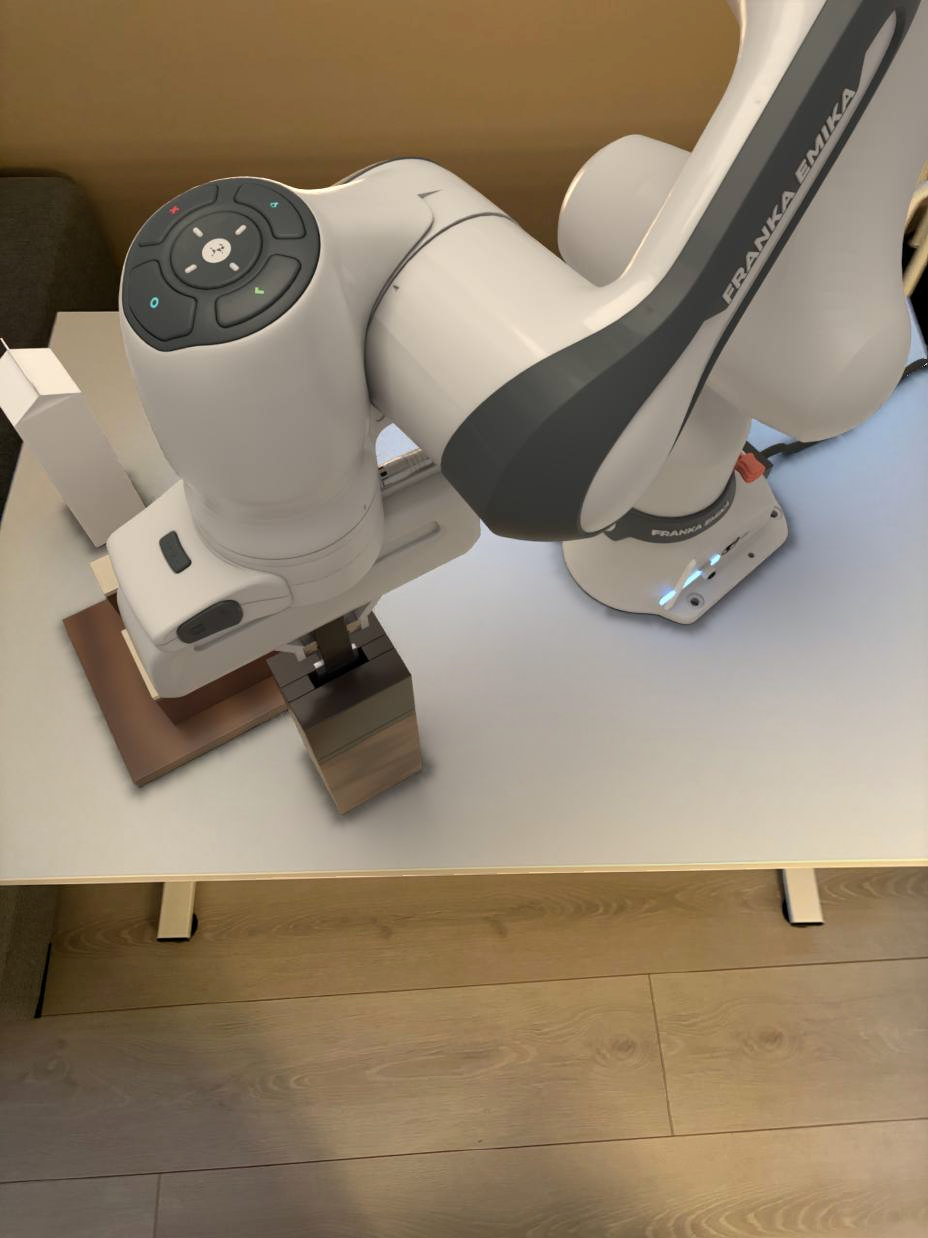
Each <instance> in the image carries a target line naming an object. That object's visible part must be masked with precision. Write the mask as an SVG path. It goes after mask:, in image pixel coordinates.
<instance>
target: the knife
mask: <svg viewBox="0 0 928 1238" xmlns="http://www.w3.org/2000/svg"><path fill="white" fill-rule="evenodd" d="M311 632H312V634H313V636H314V638H315V639H316V641H317V644H318V648H319V650H320V651H318V652H317V653H316V654H317V656H318V658H319V659H320V661H319V662H317V663H315V664H313V665H314V668H315V670H316V673H317V676H318V679H319V681H320V684H321V686H323V685H324V684H326V683H328V682H330V681H332V680H334V679H336V678H338V677H340V676H342V675H344V674H346V673H347V672H349V671H351V670H353V669H355V668H357V667H359V666H361V663H360V659H359V655H358V651H357V647H356V645H355V644H354V643H353V644H351V641H350V637H349V633H348V629H347V626H346V622H345V618H344V615H343V616H341V617H339V618H337V619H335V620H333V621H331V622H329V623H327V624H325V625H323V626H321V627H319V628H317V629H315V630H313V631H311Z"/></svg>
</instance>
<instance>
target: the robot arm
mask: <svg viewBox="0 0 928 1238" xmlns="http://www.w3.org/2000/svg"><path fill="white" fill-rule="evenodd" d="M725 2H726V3H727V5H728V6H729V8H730V10H731V12H732V14H733V16H734V18H735V19H736V21H737V23H738V26H739V44H738V45H739V47H738V51H737V56H736V61H735V66H734V68H733V71H732V75H731V78H730V80H729V83H728V85H727V86H726V89H725V91H724V94H723V96H722V98H721V99H720V101H719V103H718V105H717V107H716V108H715V110H714V112H713V113H712V115H711V117H710V119H709V121H708V123H707V125H706V127H705V128H704V130H703V132H702V133H701V135H700V136H699V139H698V140H697V143H696V144H695V145H694V148H693V150H692V151H688V150H685V149H683V148H681V147H678V146H675V145H673V144H670V143H667V142H663V141H661V140H658V139H654V138H652V137H649V136H646V135H643V134H637V133H635V134H628V135H625V136H623V137H621V138H618V139H616V140H614V141H612V142H609V144H607V145H604V147H602V148H600V149H599V150H598V151H597V152H595V153H594V154H593V155H592V156H591V157H589V159H588V160H587V161H586V162H585V163H584V164H583V165H582V166H581V167H580V169H579V170H578V172H577V173H576V174H575V176H574V177H573V178H572V181H571V182H570V184H569V186H568V189H567V190H566V193H565V195H564V197H563V200H562V203H561V207H560V211H559V214H558V222H557V246H558V252H559V253H560V256H561V258H562V259H563V260H562V259H561V258H560V257H558V256H557V255H556V254H555V253H553V252H552V251H551V250H550V249H548V248H547V247H546V246H544V245H543V244H542V243H540V242H539V241H538V240H537V239H535V237H533V236H531V235H530V234H529V233H528V232H527V231H525V230H524V229H523V228H522V227H521V225H520V223H518V222H517V221H516V220H514V219H513V218H512V217H511V216H510V215H509V214H507V213H506V212H505V211H504V210H502V209H501V208H500V207H498V206H497V205H496V204H495V203H494V202H492V201H491V200H489V199H488V197H486V196H485V195H484V194H482V193H481V192H479V191H478V190H477V189H476V188H474V187H472V186H471V185H470V184H469V183H467V182H466V181H465V180H463V179H462V178H461V177H459V176H457V175H456V174H455V173H453V172H452V171H450V170H448V169H447V168H446V167H444V166H443V165H441V164H440V163H439V162H436V161H434V160H432V159H430V158H426V157H425V158H424V157H420V156H400V157H399V156H398V157H395V158H390V159H386V160H383V161H380V162H379V161H378V162H376V163H372V164H370V165H368V166H366V167H363V168H361V169H359V170H357V171H355V172H353V173H352V174H350V175H348V176H346V177H344V178H342V179H340V180H339V181H337V182H335V183H334V184H332V185H331V186H329V187H324V188H317V189H299V188H295V187H293V186H290V185H288V184H284V183H282V182H279V181H277V180H272V179H269V178H264V177H256V176H234V177H233V176H232V177H226V178H220V179H215V180H211V181H208V182H205V183H202V184H200V185H197V186H194V187H192V188H190V189H188V190H186V191H184V192H182V193H180V194H179V195H177V196H174V197H173V198H172V199H170V200H169V201H168V202H166V203H164V204H163V205H162V206H161V207H159V208H158V209H157V210H156V211H155V212H154V213H153V214H152V215H151V216H150V217H149V218H148V219H147V220H146V221H145V222H144V224H143V225H142V226H141V228H140V229H139V230H138V231H137V233H136V235H135V236H134V238H133V240H132V242H131V244H130V246H129V248H128V250H127V253H126V256H125V259H124V262H123V266H122V270H121V275H120V283H119V292H118V318H119V319H118V320H119V326H120V332H121V336H122V337H121V338H122V341H123V347H124V352H125V355H126V359H127V363H128V366H129V369H130V373H131V376H132V379H133V382H134V385H135V387H136V391H137V394H138V396H139V397H138V398H139V399H140V402H141V404H142V407H143V410H144V413H145V415H146V417H147V420H148V422H149V425H150V427H151V431H152V432H153V434H154V437H155V439H156V441H157V443H158V446H159V448H160V450H161V452H162V454H163V456H164V458H165V460H166V462H167V463H168V464H169V466H170V467H171V469H172V470H173V472H174V473H175V474H176V475H177V476H178V477H179V479H178V480H177V481H176V482H175V483H174V484H173V485H171V487H169V488H168V489H167V490H166V491H165V492H164V493H163V494H162V495H160V496H159V497H158V498H157V499H156V500H154V501H153V502H151V504H149V505H148V506H146V507H145V509H144V510H143V511H141V512H140V513H139V514H137V515H136V516H135V517H133V518H132V519H131V520H129V521H128V522H126V523H125V524H124V525H122V526H121V527H120V528H118V529H117V530H116V531H114V532H113V533H112V534H111V535H110V537H109V538H108V540H107V542H106V543H105V546H106V551H107V555H108V554H109V558H110V561H111V564H112V567H113V570H114V573H115V576H116V578H117V581H118V583H119V586H118V590H117V603H118V607H119V611H120V614H121V617H122V620H123V623H124V625H125V628H126V630H127V632H128V635H129V637H130V639H131V641H132V644H133V646H134V648H135V650H136V653H137V655H138V657H139V659H140V661H141V663H142V665H143V667H144V669H145V671H146V673H147V675H148V677H149V679H150V681H151V683H152V685H153V687H154V689H155V691H156V692H157V694H158V695H159V696H160V697H163V698H175V697H182V696H184V695H187V694H189V693H191V692H192V691H194V690H196V689H198V688H200V687H202V686H204V685H206V684H208V683H210V682H212V681H214V680H216V679H218V678H220V677H222V676H224V675H226V674H228V673H230V672H232V671H234V670H236V669H238V668H240V667H242V666H244V665H246V664H247V663H249V662H251V661H253V660H255V659H257V658H259V657H261V656H263V655H265V654H267V653H269V652H271V651H273V650H275V651H282V652H290V653H294V655H295V656H296V658H297V660H298V661H299V662H300V661H301V660H303V659H305V658H307V657H309V656H311V655H313V654H315V653H317V652H318V651H320V650H319V648H318V644H317V641H316V639H315V638H314V636H313V634H312V632H311V631H313V630H315V629H317V628H319V627H321V626H323V625H325V624H327V623H329V622H331V621H333V620H335V619H337V618H339V617H341V616H343V615H344V618H345V622H346V626H347V629H348V633H349V635H351V634H353V633H355V632H358V631H360V630H362V629H364V628H366V627H368V626H369V623H368V618H367V615H369V614H370V612H371V611H373V609H375V607H376V606H377V604H378V603H379V601H380V600H381V598H382V597H383V596H384V595H386V594H388V593H390V592H392V591H394V590H396V589H398V588H400V587H402V586H404V585H406V584H407V583H410V582H411V581H414V580H415V579H418V578H420V577H421V576H424V575H425V574H428V573H430V572H431V571H434V570H436V569H437V568H439V567H442V566H443V565H446V564H448V563H449V562H452V561H453V560H455V559H458V558H460V557H461V556H464V555H465V554H467V553H468V552H470V551H471V549H472V548H473V547H474V546H475V545H476V544H477V542H478V541H479V539H480V537H481V534H482V527H481V522H482V523H483V524H484V525H485V526H486V527H487V529H488V530H489V531H490V532H491V533H492V534H493V535H495V536H498V537H502V538H507V539H511V540H517V541H525V542H536V543H537V542H538V543H558V542H559V543H560V542H562V544H561V545H562V554H563V558H564V562H565V564H566V567H567V570H568V572H569V573H570V575H571V576H572V578H573V580H574V581H575V582H576V583H577V585H578V586H579V587H580V588H581V589H582V590H583V591H584V592H586V593H587V594H588V595H589V596H591V597H592V598H593V599H595V600H596V601H598V602H599V603H601V604H604V605H606V606H608V607H610V608H613V609H616V610H619V611H623V612H628V613H637V614H653V615H658V616H660V617H662V618H665V619H667V620H670V621H671V622H672V621H673V622H675V623H678V624H681V625H691V624H693V623H694V622H696V621H697V620H698V619H699V618H701V617H702V616H703V615H704V614H705V613H706V612H707V611H709V610H710V609H711V608H712V607H713V606H715V604H716V603H718V602H719V601H720V600H721V599H722V598H723V597H724V596H726V595H727V594H728V593H729V592H730V591H732V589H734V588H735V587H736V586H737V585H738V584H739V583H740V582H742V581H743V580H744V579H746V577H747V576H748V575H749V574H751V573H752V572H753V571H754V570H756V568H757V567H759V566H760V565H761V564H762V563H764V561H766V560H767V559H768V558H769V557H771V555H772V554H773V553H775V552H776V551H777V550H778V549H779V548H780V547H782V546H783V544H784V543H785V542H786V541H787V537H788V536H789V530H788V524H787V519H786V516H785V513H784V512H783V509H782V506H781V505H780V504H779V501H778V500H777V498H776V497H775V495H774V493H773V491H772V488H771V486H770V484H769V482H768V480H767V479H768V478H769V475H770V474H771V471H772V469H773V467H774V463H773V462H771V461H770V460H769V459H770V458H772V457H773V456H775V455H778V454H780V453H782V454H784V455H788V454H793V453H795V452H798V451H801V450H804V449H806V448H808V447H811V446H812V445H815V444H817V443H819V442H821V441H823V440H828V439H831V438H834V437H837V436H840V435H842V434H844V433H847V432H850V431H851V430H853V429H855V428H856V427H858V426H860V425H861V424H863V423H864V422H865V421H867V420H868V419H869V418H870V417H872V416H873V415H874V414H875V413H876V412H877V411H879V409H881V407H882V406H883V405H884V404H885V403H886V402H887V401H888V399H890V397H891V396H892V394H893V392H895V390H896V388H897V386H898V384H900V383H901V382H902V381H904V380H905V379H907V378H908V377H910V375H912V374H913V373H915V372H916V371H918V370H920V369H922V368H928V364H927V365H925V364H926V363H928V358H927V359H924V358H925V357H923V358H919V359H917V360H915V361H913V362H911V363H910V364H908V361H909V356H910V353H911V347H912V320H911V316H910V315H911V314H910V311H909V308H908V304H907V301H906V300H907V299H906V296H905V289H904V283H903V282H904V281H903V267H902V266H903V265H902V262H903V261H902V259H903V243H904V234H905V229H906V222H907V218H908V214H909V210H910V205H911V201H912V199H913V196H914V192H915V191H916V190H915V189H916V186H917V183H918V181H919V178H920V176H921V173H922V171H923V169H924V167H925V164H926V162H927V160H928V0H725ZM907 364H908V365H907ZM924 365H925V366H924ZM922 366H923V367H922ZM921 367H922V368H921ZM919 368H920V369H919ZM917 369H918V370H917ZM914 371H915V372H914ZM912 372H913V373H912ZM909 374H910V375H909ZM907 375H908V376H907ZM753 420H755V421H757V422H759V423H761V424H763V425H765V426H766V427H768V428H770V429H772V430H774V431H777V432H779V433H781V434H783V435H786V436H788V437H790V438H792V439H794V440H796V441H793V442H791V443H788V444H787V443H785V442H780V443H776V444H773V445H770V446H769V447H767V448H764V449H763V450H760V451H759V450H758V449H757V448H756V447H755V446H754V445H753V444H751V442H749V441H748V438H749V436H750V433H751V430H752V429H751V428H752V422H753ZM392 424H394V425H395V426H396V427H397V428H398V429H399V430H400V431H401V432H402V433H403V434H404V435H405V437H407V438H408V439H409V440H410V441H411V442H412V443H413V444H414V445H415V446H417V448H415V449H412V450H409V451H407V452H405V453H403V454H400V455H399V456H396V457H394V458H392V459H390V460H388V461H386V462H384V463H383V462H382V463H381V464H379V463H378V457H377V448H376V445H377V441H378V438H379V436H380V434H381V433H382V432H383V431H384V430H385V429H386V428H387V427H389V426H390V425H392ZM771 515H772V516H771ZM773 516H774V517H773ZM692 602H694V603H696V604H697V605H694V604H693V603H692Z"/></svg>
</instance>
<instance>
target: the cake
mask: <svg viewBox="0 0 928 1238" xmlns="http://www.w3.org/2000/svg"><path fill="white" fill-rule="evenodd" d="M121 632H122V635H123V637H124V639H125V641H126V643H127V645H128V647H129V649H130V652H131V654H132V656H133V658H134V660H135V662H136V664H137V667H138V669H139V671H140V673H141V675H142V677H143V679H144V681H145V684H146V686H147V688H148V690H149V692H150V694H151V696H152V698H153V699H154V701H155V702H156V703H157V704H158V706H159V707H160V708H161V709H162V711H163V712H164V713H165V714H166V716H167V717H168V718H169V719H170V720H171V722H172V723H173V724H174V725H177V724H179V723H181V722H183V721H185V720H187V719H189V718H191V717H193V716H195V715H196V714H198V713H200V712H202V711H204V710H206V709H208V708H210V707H212V706H214V705H216V704H218V703H220V702H222V701H224V700H226V699H228V698H230V697H232V696H234V695H236V694H237V693H239V692H241V691H243V690H245V689H247V688H249V687H251V686H253V685H255V684H257V683H259V682H261V681H263V680H265V679H267V678H269V677H271V676H272V674H271V671H270V669H269V667H268V665H267V663H266V659H268V658H270V657H272V656H274V655H276V654H278V653H280V652H282V651H275V650H273V651H271V652H269V653H267V654H265V655H263V656H261V657H259V658H257V659H255V660H253V661H251V662H249V663H247V664H246V665H244V666H242V667H240V668H238V669H236V670H234V671H232V672H230V673H228V674H226V675H224V676H222V677H220V678H218V679H216V680H214V681H212V682H210V683H208V684H206V685H204V686H202V687H200V688H198V689H196V690H194V691H192V692H191V693H189V694H187V695H184V696H182V697H175V698H163V697H160V696H159V695H158V694H157V692H156V691H155V689H154V687H153V685H152V683H151V681H150V679H149V677H148V675H147V673H146V671H145V669H144V667H143V665H142V663H141V661H140V659H139V657H138V655H137V653H136V650H135V648H134V646H133V644H132V641H131V639H130V637H129V635H128V632H127V630H126V629H125V630H122V631H121Z"/></svg>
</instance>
